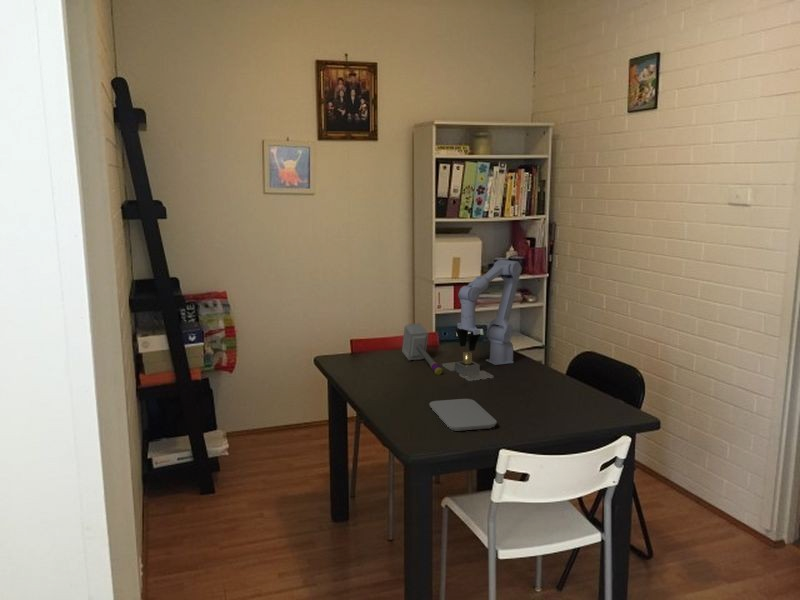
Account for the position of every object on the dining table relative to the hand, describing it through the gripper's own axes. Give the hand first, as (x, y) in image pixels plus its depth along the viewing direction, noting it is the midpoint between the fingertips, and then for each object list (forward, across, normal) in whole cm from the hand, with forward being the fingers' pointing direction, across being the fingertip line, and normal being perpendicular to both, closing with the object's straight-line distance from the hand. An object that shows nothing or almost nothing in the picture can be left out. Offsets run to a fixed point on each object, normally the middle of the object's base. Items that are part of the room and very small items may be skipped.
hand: (467, 348), depth 280 cm
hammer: (+10, -13, -14) cm, 21 cm away
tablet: (+10, +49, -29) cm, 58 cm away
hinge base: (+9, +2, -1) cm, 10 cm away
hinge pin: (+9, +2, -1) cm, 10 cm away
